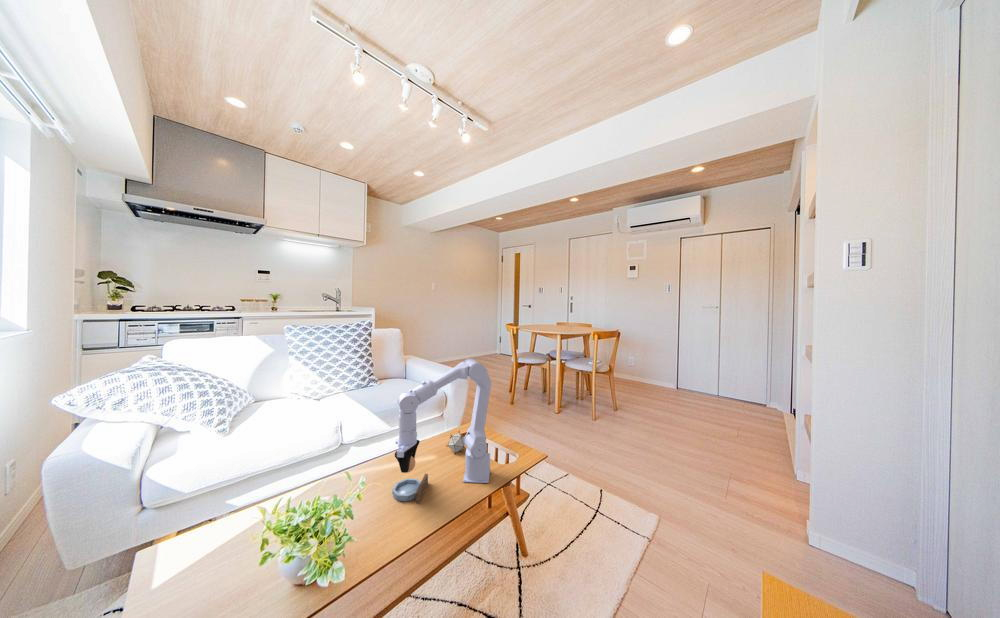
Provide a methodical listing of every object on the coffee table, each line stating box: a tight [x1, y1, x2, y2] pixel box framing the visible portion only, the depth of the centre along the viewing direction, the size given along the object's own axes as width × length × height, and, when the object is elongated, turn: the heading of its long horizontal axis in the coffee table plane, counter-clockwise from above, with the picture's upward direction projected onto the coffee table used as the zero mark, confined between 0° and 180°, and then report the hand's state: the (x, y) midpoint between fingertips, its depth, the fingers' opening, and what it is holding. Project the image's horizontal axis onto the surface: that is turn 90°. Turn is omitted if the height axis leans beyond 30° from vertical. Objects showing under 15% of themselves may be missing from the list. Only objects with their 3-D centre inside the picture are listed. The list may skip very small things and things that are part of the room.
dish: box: [391, 478, 421, 503], centre depth 105 cm, size 9×9×2 cm
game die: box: [445, 430, 466, 455], centre depth 133 cm, size 9×8×10 cm
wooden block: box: [415, 473, 429, 505], centre depth 105 cm, size 1×11×4 cm, turn 178°
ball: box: [407, 456, 416, 473], centre depth 105 cm, size 5×5×5 cm
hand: (407, 467), depth 105 cm, fingers closed on ball, 5 cm apart
